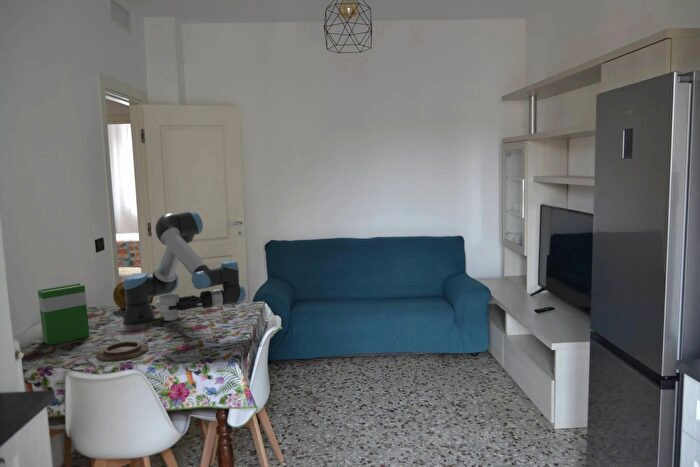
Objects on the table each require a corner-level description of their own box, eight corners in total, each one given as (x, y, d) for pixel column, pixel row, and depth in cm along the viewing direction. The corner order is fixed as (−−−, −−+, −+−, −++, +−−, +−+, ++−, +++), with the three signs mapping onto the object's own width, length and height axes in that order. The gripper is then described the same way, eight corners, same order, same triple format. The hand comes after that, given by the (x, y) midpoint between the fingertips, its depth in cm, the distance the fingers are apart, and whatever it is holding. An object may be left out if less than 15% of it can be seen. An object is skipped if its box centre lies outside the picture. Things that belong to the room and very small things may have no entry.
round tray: (117, 343, 241) (117, 338, 241) (157, 345, 236) (157, 340, 236) (85, 359, 222) (85, 353, 221) (128, 362, 217) (128, 356, 216)
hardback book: (84, 332, 261) (79, 283, 258) (89, 335, 255) (84, 285, 252) (43, 341, 249) (37, 290, 246) (47, 345, 243) (42, 292, 240)
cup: (184, 316, 238) (182, 294, 236) (172, 322, 230) (170, 299, 229) (168, 315, 240) (167, 293, 239) (156, 321, 233) (154, 298, 231)
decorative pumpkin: (113, 305, 309) (113, 270, 307) (152, 303, 318) (152, 269, 315) (113, 315, 291) (113, 278, 289) (154, 312, 299) (155, 277, 297)
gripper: (218, 311, 235) (164, 321, 224) (204, 302, 253) (153, 310, 241) (217, 294, 234) (162, 303, 223) (203, 286, 252) (152, 294, 240)
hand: (157, 307), depth 232 cm, fingers closed on cup, 8 cm apart
